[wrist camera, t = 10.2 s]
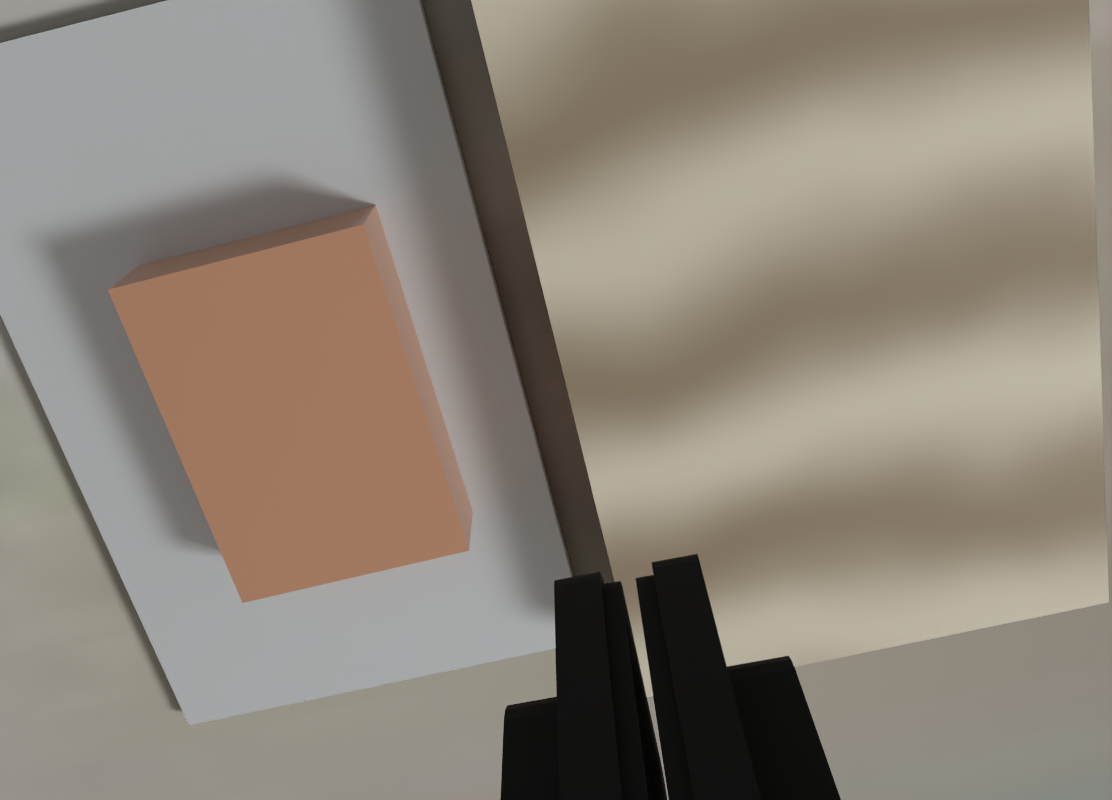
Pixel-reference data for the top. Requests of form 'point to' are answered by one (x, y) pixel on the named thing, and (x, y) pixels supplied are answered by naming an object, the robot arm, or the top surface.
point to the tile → (299, 403)
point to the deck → (822, 302)
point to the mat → (236, 213)
